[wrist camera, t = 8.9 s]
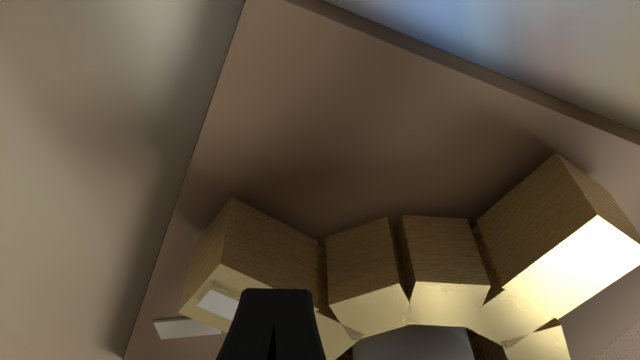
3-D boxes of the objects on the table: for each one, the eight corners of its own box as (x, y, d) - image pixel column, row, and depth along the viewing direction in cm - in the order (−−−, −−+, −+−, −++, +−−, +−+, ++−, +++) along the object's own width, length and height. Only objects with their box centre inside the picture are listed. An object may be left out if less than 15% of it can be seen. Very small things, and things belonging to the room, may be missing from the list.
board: (753, 180, 19) (863, 280, 15) (470, 435, 28) (494, 533, 25) (254, -28, 14) (235, 42, 11) (122, 359, 24) (89, 466, 20)
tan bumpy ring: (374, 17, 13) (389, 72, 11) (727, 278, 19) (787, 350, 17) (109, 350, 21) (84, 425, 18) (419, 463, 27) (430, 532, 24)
